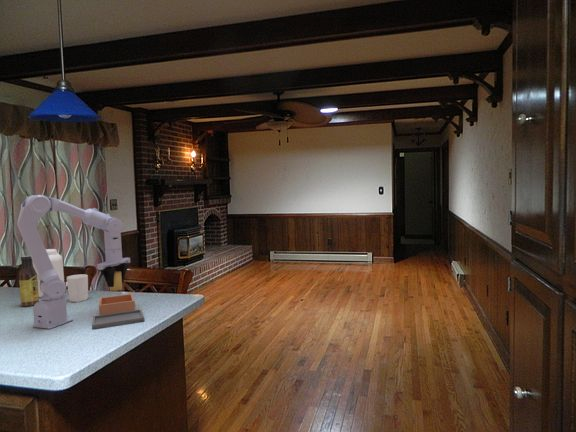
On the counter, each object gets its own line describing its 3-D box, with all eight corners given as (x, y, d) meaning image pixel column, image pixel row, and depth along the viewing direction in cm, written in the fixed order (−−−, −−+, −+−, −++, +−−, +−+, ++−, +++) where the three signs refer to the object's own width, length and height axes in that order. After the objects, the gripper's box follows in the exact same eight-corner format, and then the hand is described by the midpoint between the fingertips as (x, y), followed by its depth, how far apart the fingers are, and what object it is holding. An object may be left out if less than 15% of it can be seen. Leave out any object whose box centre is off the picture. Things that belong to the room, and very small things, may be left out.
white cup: (93, 297, 176) (91, 274, 175) (82, 302, 168) (80, 278, 168) (75, 297, 177) (74, 274, 176) (64, 302, 169) (62, 278, 168)
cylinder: (116, 291, 152) (115, 273, 152) (106, 290, 154) (105, 273, 154) (124, 288, 156) (123, 271, 156) (115, 287, 158) (114, 270, 158)
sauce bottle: (37, 305, 166) (33, 256, 164) (19, 307, 163) (15, 258, 162) (40, 301, 172) (37, 254, 170) (23, 303, 169) (19, 255, 168)
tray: (144, 321, 140) (144, 317, 140) (92, 329, 134) (92, 325, 134) (141, 313, 150) (141, 309, 150) (93, 320, 144) (92, 316, 144)
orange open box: (135, 311, 153) (134, 300, 152) (99, 316, 148) (98, 305, 148) (133, 303, 164) (132, 293, 163) (99, 308, 159) (99, 297, 159)
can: (48, 298, 177) (45, 252, 175) (25, 297, 180) (22, 251, 179) (71, 291, 189) (68, 247, 187) (49, 290, 192) (46, 247, 191)
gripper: (106, 252, 146) (109, 290, 147) (135, 246, 160) (137, 281, 160) (91, 252, 149) (94, 289, 149) (121, 246, 162) (123, 280, 163)
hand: (115, 285), depth 155 cm, fingers closed on cylinder, 4 cm apart
